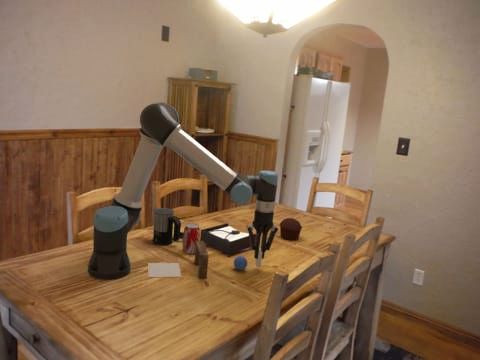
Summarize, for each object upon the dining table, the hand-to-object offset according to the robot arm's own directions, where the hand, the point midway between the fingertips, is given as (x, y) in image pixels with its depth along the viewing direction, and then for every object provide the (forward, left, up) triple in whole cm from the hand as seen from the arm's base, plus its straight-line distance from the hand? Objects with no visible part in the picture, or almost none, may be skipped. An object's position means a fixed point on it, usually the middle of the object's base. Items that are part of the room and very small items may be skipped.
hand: (258, 265), depth 161 cm
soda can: (-25, +18, -2) cm, 31 cm away
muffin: (+27, +36, -2) cm, 45 cm away
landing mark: (-37, 0, -2) cm, 37 cm away
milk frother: (-33, +31, -2) cm, 46 cm away
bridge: (-23, 0, -2) cm, 23 cm away
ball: (-7, 0, +1) cm, 8 cm away
